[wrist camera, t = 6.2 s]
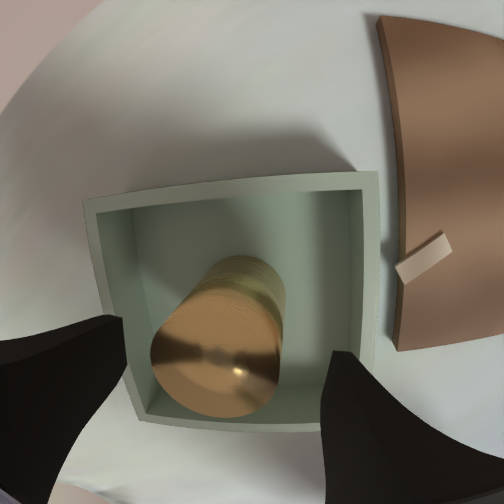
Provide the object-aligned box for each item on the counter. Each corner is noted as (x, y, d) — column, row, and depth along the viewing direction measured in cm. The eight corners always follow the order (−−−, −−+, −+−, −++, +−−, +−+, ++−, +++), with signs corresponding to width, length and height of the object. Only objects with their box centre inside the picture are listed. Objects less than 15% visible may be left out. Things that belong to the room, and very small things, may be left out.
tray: (354, 384, 16) (363, 427, 12) (161, 383, 17) (139, 420, 14) (357, 171, 13) (378, 171, 10) (123, 193, 15) (82, 200, 11)
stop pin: (285, 335, 15) (278, 421, 9) (205, 332, 15) (162, 409, 10) (286, 255, 14) (279, 313, 8) (198, 255, 14) (140, 306, 9)
